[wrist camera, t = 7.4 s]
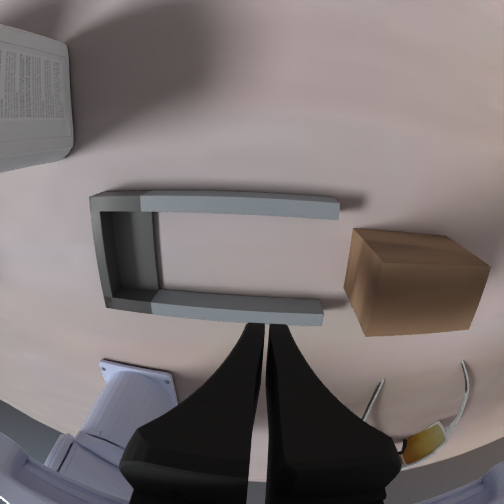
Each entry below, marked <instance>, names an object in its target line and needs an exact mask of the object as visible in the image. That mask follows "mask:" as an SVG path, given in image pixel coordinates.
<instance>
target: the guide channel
mask: <svg viewBox="0 0 504 504" xmlns="http://www.w3.org/2000/svg"><path fill="white" fill-rule="evenodd" d="M89 202H90V212H91V222H92V230H93V238H94V245H95V251H96V258H97V264H98V269H99V275H100V280H101V285H102V290H103V295H104V300H105V304H106V308H112V309H118V310H125V311H132V312H140V313H147V314H155V315H163V316H172V317H181V318H191V319H201V320H213V321H225V322H238V323H249V322H252V323H265V324H286V325H296V326H322V322H323V317H324V312H323V309H322V305H321V302H320V299H295V298H274V297H255V296H239V295H224V294H210V293H198V292H185V291H174V290H163V289H160V286H159V278H158V268H157V258H156V246H155V233H154V218H153V212H193V213H223V214H247V215H267V216H285V217H301V218H316V219H330V220H338V219H339V210H340V203H339V202H338V201H337V200H336V199H334V198H333V197H323V196H310V195H296V194H280V193H261V192H238V191H199V190H141V191H104V192H101V193H98V194H96V195H93V196H90V197H89Z"/></svg>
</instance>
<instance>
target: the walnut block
mask: <svg viewBox="0 0 504 504" xmlns="http://www.w3.org/2000/svg"><path fill="white" fill-rule="evenodd" d="M490 268H491V267H490V266H489V265H487V264H486V263H485V262H483V261H482V260H480V259H479V258H478V257H476V256H475V255H473V254H472V253H470V252H469V251H468V250H466V249H465V248H463V247H462V246H460V245H459V244H457V243H456V242H454V241H453V240H451V239H450V238H448V237H446V236H439V235H428V234H417V233H406V232H394V231H382V230H369V229H355V228H353V232H352V240H351V246H350V253H349V259H348V266H347V272H346V277H345V283H344V290H345V292H346V294H347V296H348V298H349V301H350V303H351V305H352V307H353V309H354V312H355V314H356V316H357V318H358V321H359V323H360V325H361V328H362V330H363V332H364V335H365V337H369V336H395V335H412V334H426V333H438V332H449V331H459V330H467V329H469V327H470V325H471V322H472V320H473V318H474V315H475V312H476V310H477V307H478V305H479V302H480V299H481V296H482V293H483V291H484V288H485V285H486V281H487V278H488V275H489V272H490Z"/></svg>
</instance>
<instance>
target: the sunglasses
mask: <svg viewBox="0 0 504 504" xmlns="http://www.w3.org/2000/svg"><path fill="white" fill-rule="evenodd" d="M461 363H462V368H463V371H464V376H465V394H464V397H463V401H462V406H461V409H460V411H459V413H458V415H457V417H456V418H455V419H454V420H453V421H452V423H451V425H450V426H449V429H448V430H447V431H446V429H445V427H444V426H443V424H442V423H441V422H440V421H437V422H435V423H434V424H433V425H431V426H430V427H428V428H426V429H425V430H424V431H422V432H420V433H418V434H416V435H414V436H411V437H408V438H405V439H404V441H403V446H402V450H401V451H400V452H398V454H399V457H400V460H401V463H402V468H401V470H404V469H407V468H410V467H413V466H415V465H418V464H420V463H422V462H423V461H425V460H427V459H429V458H430V457H432V456H433V455H434V454H435V453H436V452H437V451H438V450H439V449H440V448H442V447H443V446H444V445H445V444H446V443H447V441H448V439H449V437H450V436H451V434H452V433H453V431H454V430H455V428H456V426H457V424H458V422H459V420H460V418H461V416H462V413H463V411H464V408H465V405H466V402H467V398H468V395H469V379H468V374H467V370H466V367H465V363H464V361H463V360H462V362H461ZM384 381H385V379H383V380H382V381H381V382H380V383H379V385H378V386H377V388H376V389H375V392H374V394H373V396H372V398H371V400H370V402H369V404H368V406H367V408H366V411H365V413H364V415H363V417H362V420H363V421H366V419H367V417H368V414H369V412H370V410H371V408H372V405H373V403H374V401H375V399H376V397H377V395H378V393H379V391H380V389H381V387H382V385H383V383H384ZM401 470H400V471H401Z"/></svg>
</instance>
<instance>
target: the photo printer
mask: <svg viewBox="0 0 504 504" xmlns="http://www.w3.org/2000/svg"><path fill="white" fill-rule="evenodd" d="M73 142H74V139H73V121H72V109H71V95H70V76H69V56H68V49H67V46H66V44H64V43H62V42H60V41H57V40H54V39H51V38H48V37H45V36H42V35H39V34H35V33H32V32H28V31H25V30H22V29H18V28H14V27H11V26H7V25H3V24H0V173H2V172H6V171H11V170H15V169H20V168H25V167H29V166H34V165H39V164H45V163H50V162H56V161H59V160H61V159H63V158H64V157H65V156H66V155H67V154H68V153H69V152H70V150H71V148H72V147H73Z"/></svg>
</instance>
